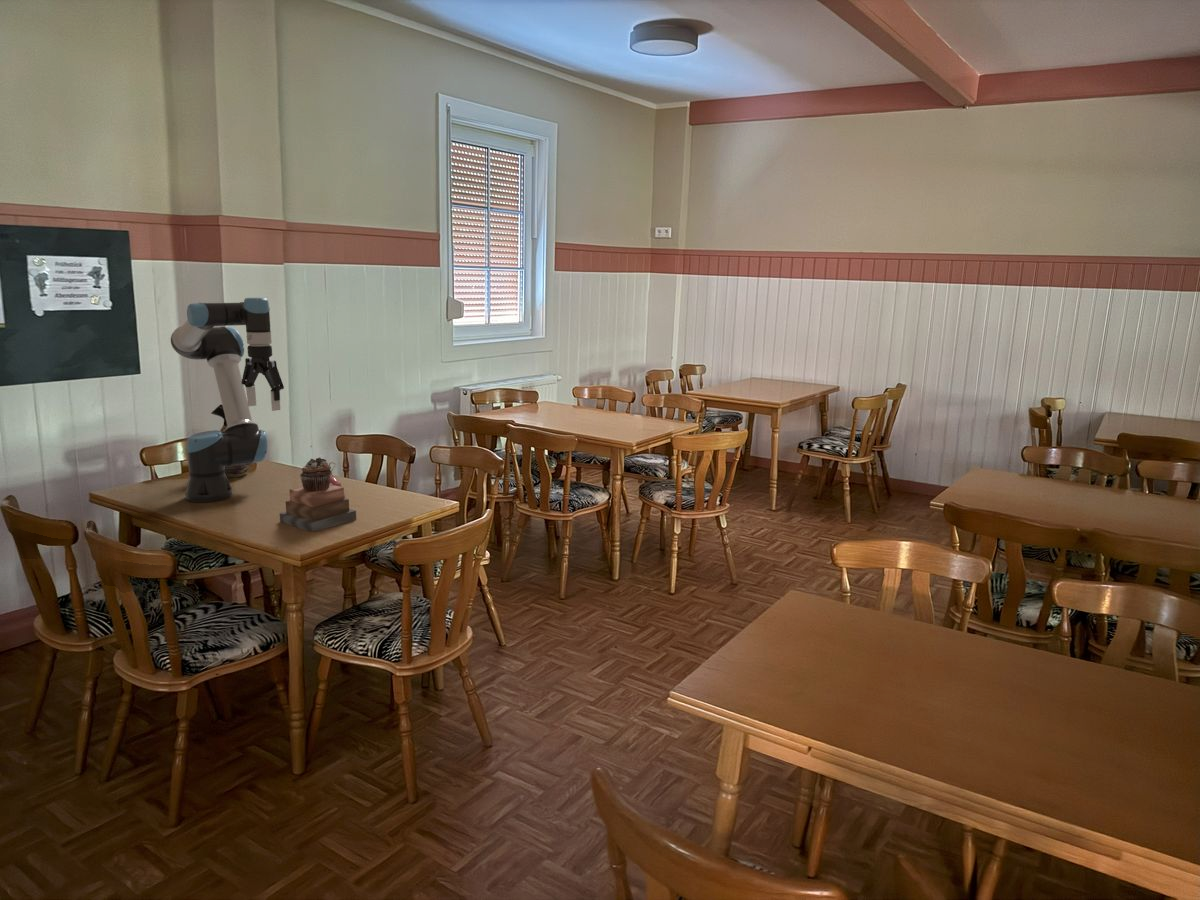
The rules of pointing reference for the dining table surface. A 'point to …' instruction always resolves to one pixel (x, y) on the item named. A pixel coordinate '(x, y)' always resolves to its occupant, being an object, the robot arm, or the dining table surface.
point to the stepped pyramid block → (317, 508)
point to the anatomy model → (334, 479)
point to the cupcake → (316, 475)
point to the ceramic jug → (235, 469)
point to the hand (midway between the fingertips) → (264, 408)
